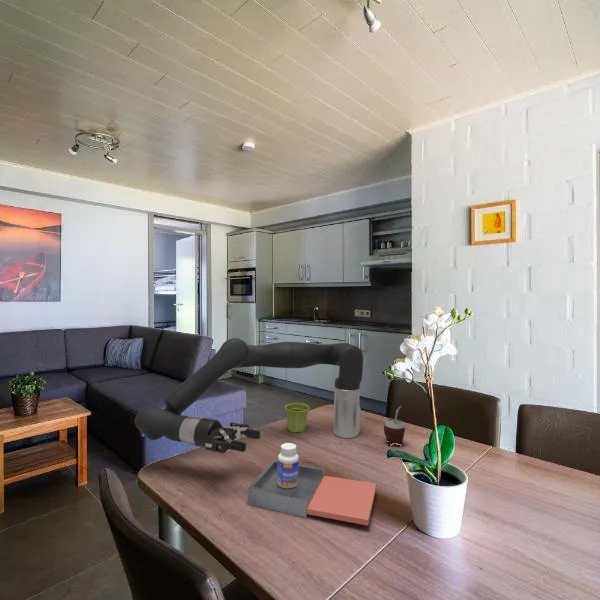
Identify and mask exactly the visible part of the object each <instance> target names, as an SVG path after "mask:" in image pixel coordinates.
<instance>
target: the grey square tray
mask: <svg viewBox="0 0 600 600" xmlns="http://www.w3.org/2000/svg"><path fill="white" fill-rule="evenodd" d="M277 466H278V459H272V460H271V461H270V462H269V463H268V464H267V466H266V467H265V468H264V469H263V470H262V471H261V473H259V475H258V476H257V477H256V478H255V479H254V480H253V481H252V483H251V484H250V485H249V486H248V487H247V505H249V506H253V507H258V508H261V509H262V508H263V509H266V510H270V511H275V512H278V513H283V514H287V515H292V516H297V517H302V518H305V519H307V518H308V516H309V514H307V507H308V505H309V503H310V501H311V499H312V498H313V496H314V494H315V492H316V490H317V488H318V486H319V484H320V482H321V480H322V478H323V477H324V476H325V468H322V467H321V468H320V467H316V466H310V465H306V464H300V463H298V484H297V485H296V486H295V487H293V488H282V487H280V486H279V485H278V484H277Z"/></svg>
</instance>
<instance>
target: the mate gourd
mask: <svg viewBox="0 0 600 600" xmlns="http://www.w3.org/2000/svg"><path fill="white" fill-rule="evenodd" d="M401 408H402V406H401V405H400V406H399V407H397V409H396V410H395V416H394V418H388V419H386V420H385V422H384V426H383V433H384V436H385V440H387V441H389V443H388V445H390V444H392V443H398V444H403V440H404V437H405V432H406V431H405V430H406V428H405V424H404V422H403V421H402V420H400V419H397V418H398V414H399V412H400V411H399V410H400V409H401Z"/></svg>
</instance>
